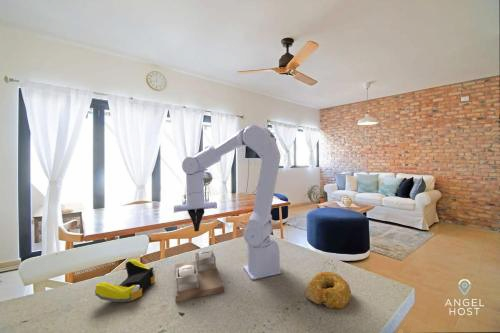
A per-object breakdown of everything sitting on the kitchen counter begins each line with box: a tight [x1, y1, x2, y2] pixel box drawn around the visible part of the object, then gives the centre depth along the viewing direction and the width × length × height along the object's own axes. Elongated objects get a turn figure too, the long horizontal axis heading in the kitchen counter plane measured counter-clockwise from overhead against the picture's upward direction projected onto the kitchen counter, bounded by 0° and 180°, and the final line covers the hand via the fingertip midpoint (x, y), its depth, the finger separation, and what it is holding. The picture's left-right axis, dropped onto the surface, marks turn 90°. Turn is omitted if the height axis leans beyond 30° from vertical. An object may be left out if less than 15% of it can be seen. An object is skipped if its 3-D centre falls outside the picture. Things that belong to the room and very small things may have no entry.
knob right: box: [198, 249, 212, 259], centre depth 68 cm, size 4×4×4 cm
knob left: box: [179, 265, 195, 277], centre depth 59 cm, size 4×4×4 cm
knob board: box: [174, 249, 225, 303], centre depth 63 cm, size 12×17×5 cm
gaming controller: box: [94, 258, 157, 304], centre depth 59 cm, size 15×6×10 cm
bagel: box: [305, 271, 352, 309], centre depth 55 cm, size 10×11×5 cm
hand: (196, 230), depth 76 cm, fingers closed
